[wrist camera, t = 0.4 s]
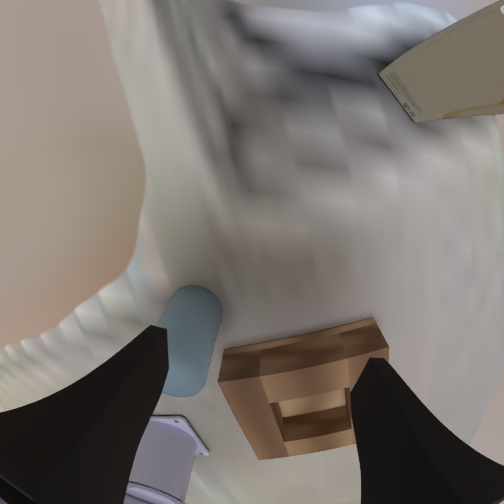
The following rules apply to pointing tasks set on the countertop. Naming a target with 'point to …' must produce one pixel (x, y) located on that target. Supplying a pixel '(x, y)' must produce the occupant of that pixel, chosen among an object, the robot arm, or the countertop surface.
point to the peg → (190, 339)
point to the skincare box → (453, 70)
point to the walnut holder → (299, 388)
